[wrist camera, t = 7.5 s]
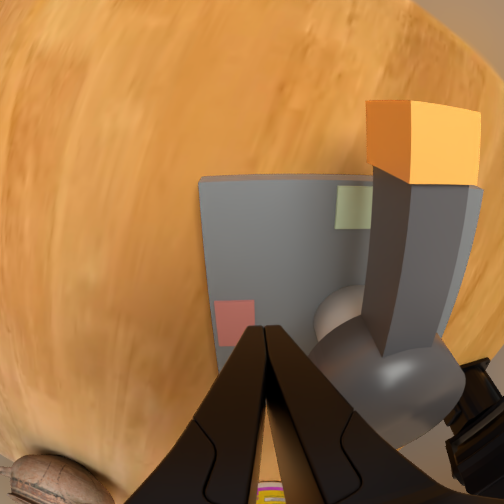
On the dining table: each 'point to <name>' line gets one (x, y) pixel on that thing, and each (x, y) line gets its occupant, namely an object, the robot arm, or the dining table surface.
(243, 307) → the base
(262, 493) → the supplement bottle
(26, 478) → the cooking pot
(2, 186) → the dining table surface
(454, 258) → the lock lever handle
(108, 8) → the dining table surface
